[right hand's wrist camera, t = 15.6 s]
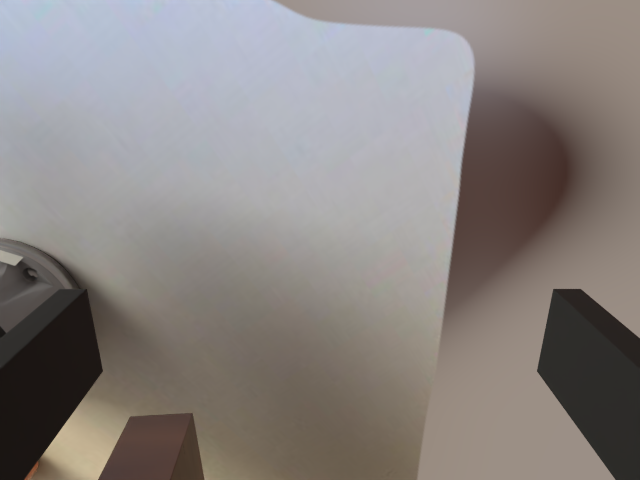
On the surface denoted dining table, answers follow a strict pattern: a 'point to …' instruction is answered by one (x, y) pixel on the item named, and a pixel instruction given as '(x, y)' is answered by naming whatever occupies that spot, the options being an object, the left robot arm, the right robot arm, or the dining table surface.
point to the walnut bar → (156, 450)
